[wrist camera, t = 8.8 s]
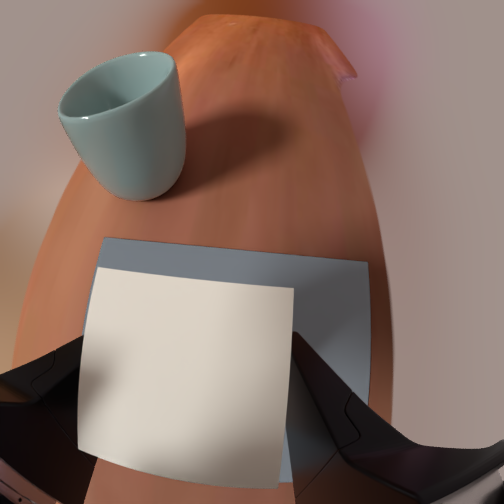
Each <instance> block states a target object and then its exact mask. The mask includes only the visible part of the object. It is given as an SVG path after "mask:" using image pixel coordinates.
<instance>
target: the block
mask: <svg viewBox="0 0 504 504" xmlns="http://www.w3.org/2000/svg"><path fill="white" fill-rule="evenodd" d="M293 299H294V288H285V287H273V286H261V285H249V284H239V283H228V282H218V281H208V280H199V279H189V278H180V277H172V276H163V275H155V274H147V273H139V272H131V271H123V270H116V269H109V268H102V267H98V268H97V272H96V276H95V281H94V285H93V290H92V294H91V299H90V304H89V309H88V315H87V321H86V327H85V333H84V340H83V347H82V356H81V365H80V376H79V390H78V449H79V450H81V451H84V452H86V453H89V454H91V455H94V456H96V457H99V458H101V459H104V460H107V461H110V462H112V463H115V464H118V465H121V466H125V467H128V468H131V469H135V470H138V471H142V472H145V473H149V474H153V475H157V476H162V477H166V478H171V479H176V480H181V481H187V482H193V483H199V484H206V485H214V486H224V487H237V488H260V489H278V484H279V477H280V469H281V460H282V452H283V442H284V433H285V423H286V412H287V400H288V388H289V374H290V359H291V342H292V323H293Z"/></svg>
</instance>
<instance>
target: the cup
mask: <svg viewBox="0 0 504 504" xmlns="http://www.w3.org/2000/svg"><path fill="white" fill-rule="evenodd" d="M58 116H59V119H60V122H61V124H62V126H63V128H64V130H65V132H66V134H67V136H68V137H69V139H70V141H71V143H72V145H73V146H74V148H75V150H76V151H77V153H78V155H79V156H80V158H81V160H82V161H83V163H84V164H85V166H86V167H87V169H88V170H89V171H90V173H91V174H92V175H93V177H94V178H95V179H96V180H97V181H98V182H99V183H100V184H101V185H102V186H103V187H104V189H106V190H107V191H108V192H109V193H111V194H113V195H114V196H116V197H118V198H120V199H124V200H128V201H145V200H150V199H153V198H156V197H158V196H160V195H162V194H164V193H165V192H167V191H168V190H169V189H170V188H171V187H172V186H173V185H174V184H175V182H176V181H177V179H178V177H179V176H180V174H181V172H182V169H183V166H184V162H185V156H186V127H185V117H184V109H183V102H182V95H181V88H180V81H179V75H178V69H177V65H176V63H175V61H174V59H173V58H172V57H171V56H170V55H168V54H166V53H162V52H139V53H133V54H128V55H124V56H120V57H117V58H114V59H111V60H109V61H106V62H104V63H102V64H100V65H98V66H96V67H94V68H92V69H91V70H89V71H87V72H86V73H85V74H83V75H82V76H81V77H79V78H78V80H76V81H75V82H74V83H73V84H72V85H71V86H70V87H69V88H68V89H67V91H66V92H65V94H64V95H63V96H62V98H61V101H60V102H59V106H58Z"/></svg>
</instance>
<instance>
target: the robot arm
mask: <svg viewBox="0 0 504 504" xmlns="http://www.w3.org/2000/svg"><path fill="white" fill-rule="evenodd" d="M83 340H84V335H82V336H80V337H78V338H76V339H75V340H73V341H71V342H69V343H67V344H65V345H63V346H61V347H59V348H57V349H56V351H55V350H53V351H52V352H50V353H48V354H46V355H44V356H42V357H40V358H38V359H36V360H34V361H31V362H29V363H27V364H25V365H22V366H20V367H17V368H15V369H12V370H10V371H8V372H5V373H3V374H0V504H56V501H57V502H58V503H60V504H84V500H85V497H86V493H87V490H88V487H89V484H90V480H91V477H92V474H93V471H94V468H95V467H94V466H95V464H96V461H97V458H98V457H96V456H94V455H91V454H89V453H86V452H84V451H81V450H79V449H78V390H79V376H80V365H81V356H82V347H83ZM285 426H286V433H287V441H288V448H289V456H290V464H291V471H292V479H293V487H294V495H295V498H296V499H295V503H296V504H504V481H503V480H502V478H501V476H500V473H499V471H498V469H499V468H500V467H502V466H503V465H504V440H501V441H499V442H497V443H496V444H494V445H492V446H490V447H487V448H481V449H456V448H443V447H442V448H441V447H431V446H423V445H420V444H417V443H414V442H412V441H411V440H409V439H408V438H406V437H405V436H404V435H402V434H401V433H400V432H398V431H397V430H396V429H395V428H394V427H392V426H391V425H390V424H389V423H387V422H386V421H385V420H384V419H382V418H381V417H380V416H379V415H378V414H376V413H375V412H374V411H373V410H372V409H371V408H370V407H369V406H367V405H366V404H365V403H364V402H363V401H362V400H361V399H360V398H359V397H358V396H357V395H356V393H355V392H352V389H351V388H350V387H349V386H348V385H347V384H346V383H345V382H344V381H343V380H342V379H341V378H340V377H339V376H338V375H337V374H336V373H335V371H334V370H333V369H332V368H331V367H330V366H329V365H328V364H327V363H326V362H325V361H324V360H323V359H322V358H321V357H320V355H319V354H318V353H317V352H316V351H315V350H314V349H313V348H312V347H311V346H310V345H309V344H308V343H307V341H306V340H305V339H304V338H303V337H302V336H301V335H300V334H299V333H298V332H297V331H292V342H291V359H290V374H289V388H288V400H287V412H286V423H285Z"/></svg>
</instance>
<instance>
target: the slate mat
mask: <svg viewBox="0 0 504 504" xmlns="http://www.w3.org/2000/svg"><path fill="white" fill-rule="evenodd" d="M98 267H102V268H109V269H116V270H123V271H131V272H139V273H147V274H155V275H163V276H172V277H180V278H189V279H199V280H208V281H218V282H228V283H239V284H249V285H261V286H273V287H285V288H294V299H293V323H292V331H297V332H298V333H299V334H300V335H301V336H302V337H303V338H304V339H305V340H306V341H307V343H308V344H309V345H310V346H311V347H312V348H313V349H314V350H315V351H316V352H317V353H318V354H319V355H320V357H321V358H322V359H323V360H324V361H325V362H326V363H327V364H328V365H329V366H330V367H331V368H332V369H333V370H334V371H335V373H336V374H337V375H338V376H339V377H340V378H341V379H342V380H343V381H344V382H345V383H346V384H347V385H348V386H349V387H350V388H351V389H352V392H355V393H356V395H357V396H358V397H359V398H360V399H361V400H362V401H363V402H364V403H365V404H366V405H367V406H368V396H369V381H370V357H371V312H370V287H369V271H368V262H362V261H351V260H341V259H330V258H320V257H309V256H298V255H288V254H277V253H267V252H256V251H245V250H235V249H224V248H213V247H202V246H192V245H181V244H170V243H160V242H149V241H138V240H127V239H117V238H106V237H104V239H103V243H102V246H101V250H100V253H99V257H98V261H97V264H96V268H95V272H94V276H93V281H92V285H91V289H90V294H89V299H88V304H87V309H86V314H85V320H84V326H83V332H82V335H84V333H85V327H86V321H87V315H88V309H89V304H90V299H91V294H92V290H93V285H94V281H95V276H96V272H97V268H98ZM279 482H293V479H292V471H291V464H290V456H289V448H288V441H287V433H286V426H285V433H284V442H283V452H282V460H281V469H280V477H279Z"/></svg>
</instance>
